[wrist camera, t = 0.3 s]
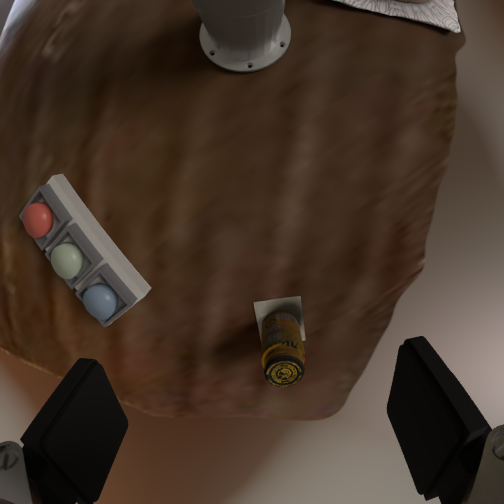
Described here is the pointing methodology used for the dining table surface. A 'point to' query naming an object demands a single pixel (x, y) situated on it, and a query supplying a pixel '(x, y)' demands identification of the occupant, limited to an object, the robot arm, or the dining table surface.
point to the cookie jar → (414, 10)
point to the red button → (38, 219)
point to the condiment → (281, 340)
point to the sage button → (67, 260)
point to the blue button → (100, 301)
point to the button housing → (88, 246)
